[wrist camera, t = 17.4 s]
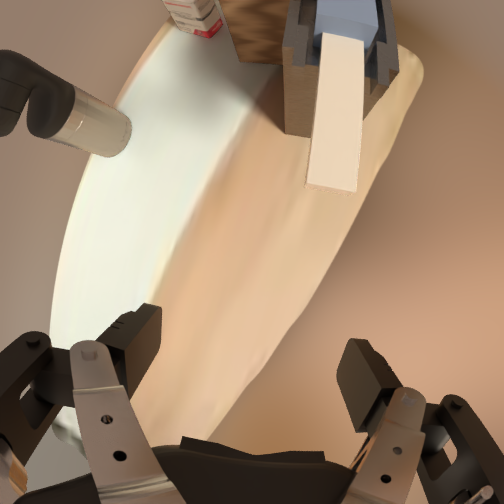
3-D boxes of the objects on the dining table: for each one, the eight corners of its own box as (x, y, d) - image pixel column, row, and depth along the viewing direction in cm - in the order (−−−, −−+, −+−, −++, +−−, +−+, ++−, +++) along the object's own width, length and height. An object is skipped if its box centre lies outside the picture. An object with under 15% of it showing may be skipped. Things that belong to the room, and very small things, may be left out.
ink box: (224, 24, 40) (210, -12, 29) (210, 39, 41) (193, 4, 30) (192, 16, 41) (175, -17, 29) (178, 30, 42) (158, -2, 30)
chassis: (283, 145, 42) (279, 64, 18) (294, 70, 40) (295, -31, 16) (343, 156, 41) (400, 90, 17) (349, 80, 39) (387, -12, 15)
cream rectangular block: (295, 185, 21) (298, 172, 15) (316, -2, 18) (319, -38, 13) (356, 197, 21) (379, 189, 15) (362, 7, 18) (373, -26, 12)
